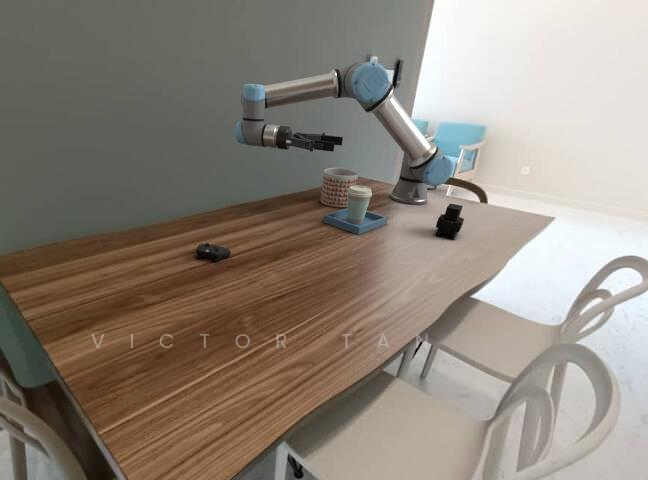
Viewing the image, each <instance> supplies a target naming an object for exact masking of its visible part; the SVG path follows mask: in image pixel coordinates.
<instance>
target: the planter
mask: <svg viewBox="0 0 648 480" xmlns="http://www.w3.org/2000/svg"><path fill="white" fill-rule="evenodd" d="M358 180H359V172H358V171H356V170H354V169H349V168H343V167H328V168H325V169H324V170H323V175H322V184H321V190H320V191H321V192H320V199H319V200H320V201H319V202H320V203H321V204H322V205H324V206H327V207H330V208H336V209H345V208H347V203H348V193H347V192H348V190H349V187H350V186H356V185H357V186H358Z"/></svg>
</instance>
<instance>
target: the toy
mask: <svg viewBox="0 0 648 480" xmlns="http://www.w3.org/2000/svg"><path fill="white" fill-rule="evenodd" d="M462 210H463V205H461V204H457V203H449V204H448V205H447V206H446V209H445V212H444V213H441V214H440V215H439V217H438V218H437V221H436V224H435V228H436V233H435V236H436V237H439V236H440V235H441V233H443V234H447V235H451V237H450V240H452V241H454V240H455V238H456V236H457V234H458V233H460V231H461V229H462V227H463V225H464V221H465V218H463V217H461V213H462Z"/></svg>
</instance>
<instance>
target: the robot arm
mask: <svg viewBox="0 0 648 480" xmlns="http://www.w3.org/2000/svg"><path fill="white" fill-rule="evenodd" d="M242 88H243V89H242V93H241V96H240V103H241V105H242V119H241V120H242V121H238V122H237V124H236V125H235V130H234V134H235V140H236V141H237V143H238V144H241V145H246V146H252V147H253V146H254V147H261V148H268V150H272V149H278V150H285V151H287V150H289V149H290V147H294V148H298V149H303V150H307V151H309V152H310V153H311V152H314V150H317V151H323V152H324V151H325V152H331V153H333V152H335V146H341V147H342V146H343V140H344V136H338V135H337V136H336V135H328V134H327V135H326V132H322V133H308V132H307V133H306V132H298V131H297V132H295V133H293V131H292V127H290V126H288V125H278V124H270V123H265V110H266V109H271V108H276V107H281V106H287V105H292V104H299V103H303V102H304V103H305V102H308V101H313V100H320V99H325V98H331V97H332V98H333V99H335V100H337V99H342V98H343V99H345V98H347V99H353V100H356V102H357V103H358V104H359V105H360V107H362V109H363V111H364V112H366V113H371V114H372V113H373V115H374V116H375V118H376V119H377V120H378V121H379V123H380V124H381V126H383V128H384V129H385V130H386V132H387V133H388V134H389V135H390V137H391V139H393V140H394V142H395V143H396V145H398V146H399V148H400V150H402V152H403V157H402V162H401V167H400V172H399V177H398V180H397V182H396V184H395V186H394V187H393V189H392V191H391V194H390V199H392V200H394V201H395V202H399V203H402V204H407V205H423V204H426V203H427V201H428V191H435V190H436V189H437V187H439V186H442V185H444V184H445V183H446V182H447V181H448V180H449V179H450V178H451V176H452V174H453V170H454V161H453V159H451V158H450V157H449V156H448V155H446V154H444V153H443V152H442V150H441V149H440V148H439V146H438V145H437V144H436V142H433V141H432V142H429V141H428V139H427V138H426V137H425V135H424V134H423V133H422V131H421V129H419V127H418V126H417V125H416V123H415V121H414V120H413V119H412V118H411V117H410V115H409V114H408V112H407V111H406V109H405V108H404V107H403V106H402V104H401V103H400V102H399V100H398V99H397V98H396V96H395V95H394V85H393V84H392V82H391V80H390V76H389V73H388V71H387V69H386V68H385V67H384V66H383V65H381V64H380V63H377V62H375V61H365V62H362V61H359V62H354V63H351V64H349V65H346V66H343V67H339V68H335V69H332V70H331V71H330V73H325V74H319V75H314V76H309V77H305V78H299V79H294V80H293V79H292V80H287V81H284V82H283V81H282V82H277V83H272V84H267V85H263V84H259V83H245V84H243V87H242ZM428 186H430V187H428Z"/></svg>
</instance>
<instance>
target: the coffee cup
mask: <svg viewBox="0 0 648 480" xmlns="http://www.w3.org/2000/svg"><path fill="white" fill-rule="evenodd" d="M347 193H348V203H347V222H349V223H352V224H362V223H363V220H364V217H365V214H366V211H368V207H369V204H370V200H371V197H372V196H373V192H372V188H371V187H368V186H366V185H365V186H364V185H358V184H357V185H356V186H350V187H349V190H348V192H347Z"/></svg>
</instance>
